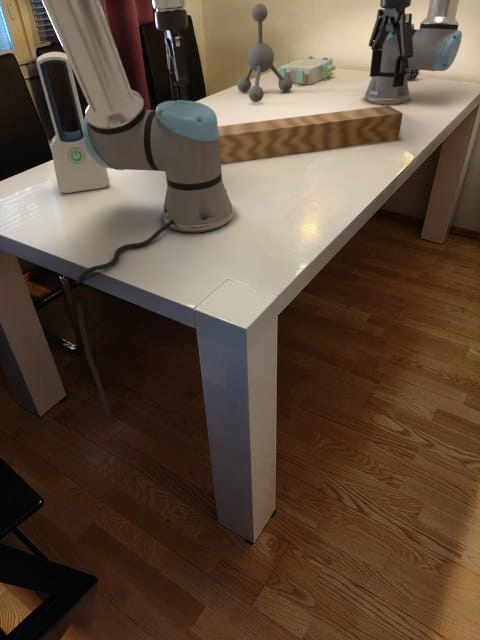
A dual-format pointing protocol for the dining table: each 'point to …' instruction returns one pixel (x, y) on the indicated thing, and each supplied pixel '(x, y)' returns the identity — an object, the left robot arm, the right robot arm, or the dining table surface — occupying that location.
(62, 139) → the electronic device
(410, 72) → the grenade
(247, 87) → the molecular model
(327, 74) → the clip lid food container
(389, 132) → the long wooden beam
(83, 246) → the dining table surface
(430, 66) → the right robot arm
